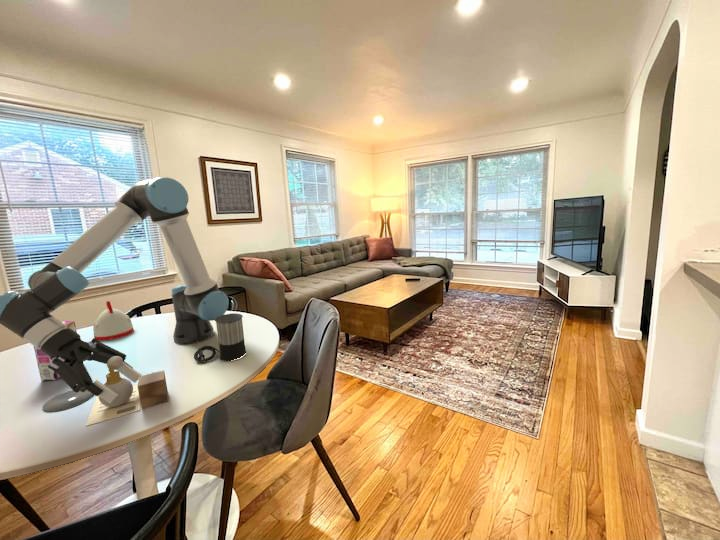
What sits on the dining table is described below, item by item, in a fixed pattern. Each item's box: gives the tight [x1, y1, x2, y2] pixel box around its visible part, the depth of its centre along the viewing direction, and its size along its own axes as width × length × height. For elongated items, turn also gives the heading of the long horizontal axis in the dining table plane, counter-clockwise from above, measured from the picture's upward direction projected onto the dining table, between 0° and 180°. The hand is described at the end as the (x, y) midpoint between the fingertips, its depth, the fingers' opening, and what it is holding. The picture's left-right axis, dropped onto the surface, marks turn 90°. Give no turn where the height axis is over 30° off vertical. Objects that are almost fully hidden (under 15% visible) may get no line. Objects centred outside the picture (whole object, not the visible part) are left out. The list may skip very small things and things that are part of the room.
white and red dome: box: [92, 300, 134, 341], centre depth 138 cm, size 14×14×15 cm
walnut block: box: [137, 370, 169, 411], centre depth 87 cm, size 6×6×7 cm
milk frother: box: [193, 312, 247, 363], centre depth 111 cm, size 14×16×15 cm
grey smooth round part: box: [42, 389, 94, 413], centre depth 89 cm, size 11×11×1 cm
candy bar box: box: [33, 320, 78, 382], centre depth 104 cm, size 11×5×16 cm, turn 5°
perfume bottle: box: [99, 356, 134, 407], centre depth 85 cm, size 8×10×12 cm
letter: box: [85, 384, 141, 427], centre depth 87 cm, size 11×16×1 cm
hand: (127, 388), depth 86 cm, fingers closed on perfume bottle, 9 cm apart
